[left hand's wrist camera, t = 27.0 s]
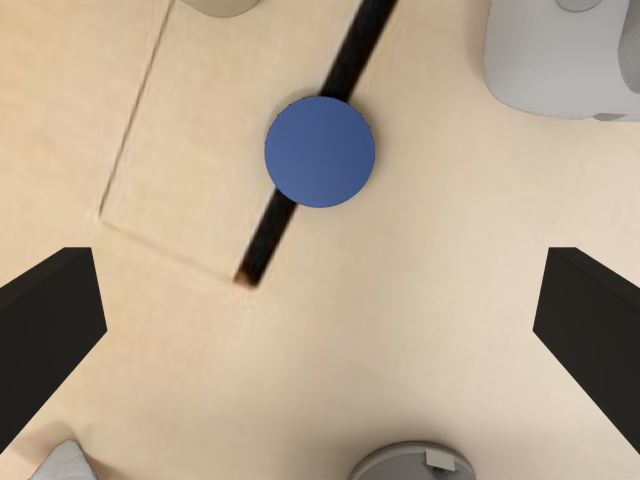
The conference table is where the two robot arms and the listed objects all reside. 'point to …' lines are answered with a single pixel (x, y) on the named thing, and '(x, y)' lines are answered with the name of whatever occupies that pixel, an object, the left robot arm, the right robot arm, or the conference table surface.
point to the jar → (221, 7)
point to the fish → (65, 464)
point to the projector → (565, 57)
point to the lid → (319, 151)
